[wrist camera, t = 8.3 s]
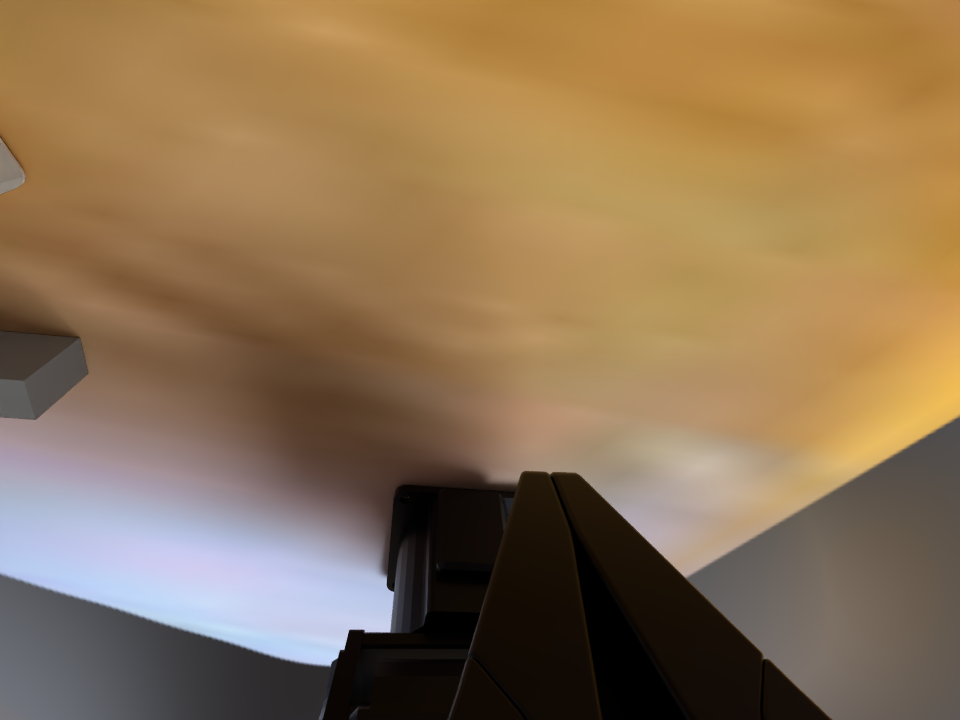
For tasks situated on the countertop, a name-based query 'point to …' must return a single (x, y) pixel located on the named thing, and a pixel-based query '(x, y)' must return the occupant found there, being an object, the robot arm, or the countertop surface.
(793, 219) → the countertop surface
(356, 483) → the countertop surface
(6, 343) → the display bay
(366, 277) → the countertop surface
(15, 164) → the container
